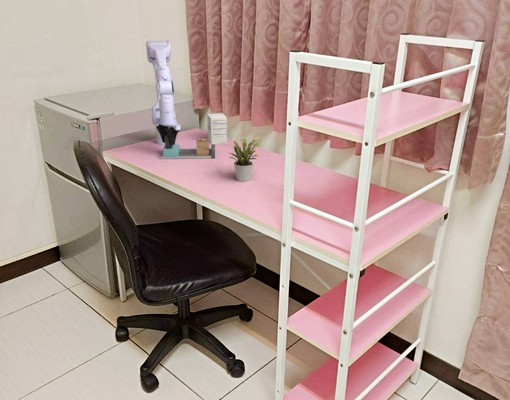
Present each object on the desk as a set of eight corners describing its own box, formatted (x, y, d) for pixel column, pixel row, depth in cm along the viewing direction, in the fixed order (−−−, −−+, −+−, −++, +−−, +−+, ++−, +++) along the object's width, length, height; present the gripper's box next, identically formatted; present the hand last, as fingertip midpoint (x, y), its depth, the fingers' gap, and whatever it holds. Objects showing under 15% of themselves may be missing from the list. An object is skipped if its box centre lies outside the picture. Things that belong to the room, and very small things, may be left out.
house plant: (270, 174, 190) (271, 132, 184) (260, 187, 178) (261, 143, 171) (234, 170, 194) (234, 129, 187) (222, 183, 182) (222, 139, 175)
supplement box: (207, 141, 227) (206, 113, 222) (223, 139, 230) (223, 112, 224) (211, 146, 221) (210, 118, 216) (227, 144, 223) (227, 116, 218)
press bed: (162, 153, 211) (162, 144, 209) (215, 152, 212) (214, 143, 211) (160, 161, 202) (159, 152, 200) (215, 160, 203) (214, 151, 202)
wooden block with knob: (197, 152, 209) (196, 137, 207) (209, 152, 210) (208, 137, 207) (196, 156, 205) (196, 141, 202) (209, 156, 205) (208, 141, 202)
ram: (165, 151, 210) (164, 133, 206) (179, 151, 210) (178, 132, 207) (163, 157, 202) (162, 138, 199) (178, 157, 203) (177, 138, 199)
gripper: (186, 112, 197) (187, 145, 202) (164, 105, 206) (166, 137, 211) (171, 115, 192) (173, 149, 198) (149, 108, 201) (152, 141, 207)
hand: (168, 143), depth 204 cm, fingers open, 4 cm apart
